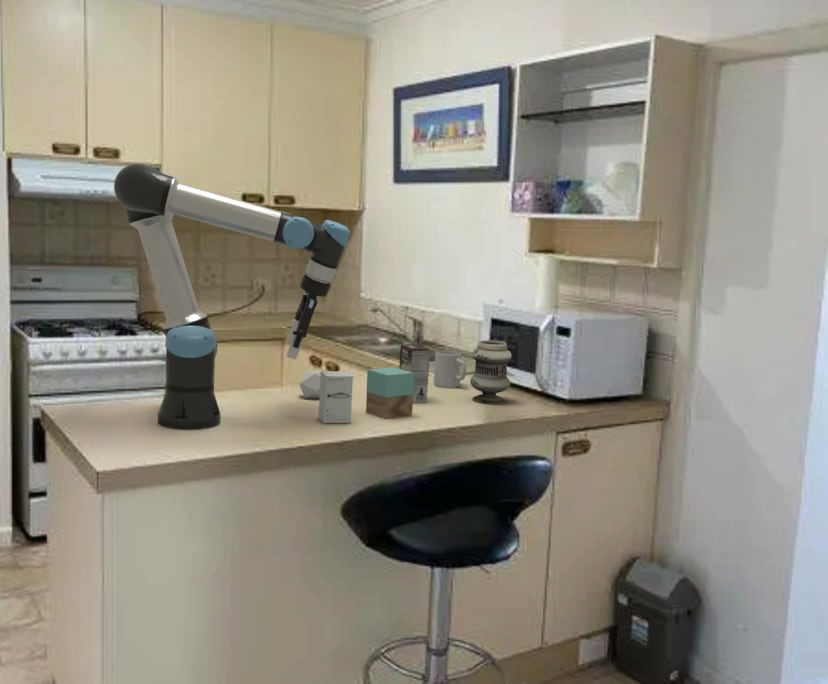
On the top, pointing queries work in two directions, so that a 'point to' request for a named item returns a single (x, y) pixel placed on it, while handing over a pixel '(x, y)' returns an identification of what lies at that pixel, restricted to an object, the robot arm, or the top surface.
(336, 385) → the supplement box
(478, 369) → the apothecary jar
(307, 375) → the die
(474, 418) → the top surface
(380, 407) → the block lower
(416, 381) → the coffee box
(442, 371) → the mug
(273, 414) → the top surface
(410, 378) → the block upper
